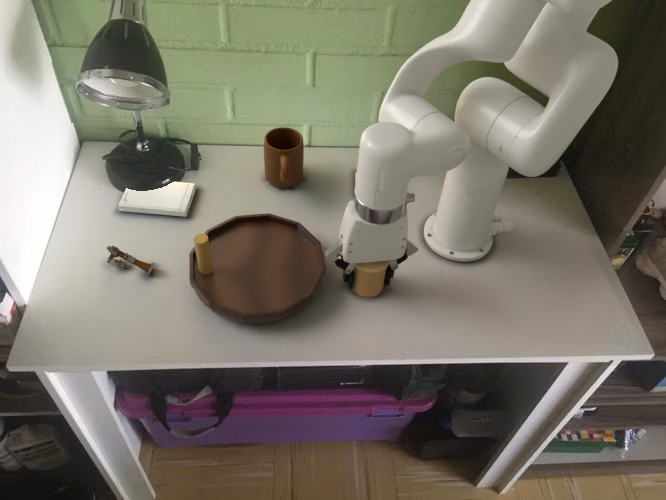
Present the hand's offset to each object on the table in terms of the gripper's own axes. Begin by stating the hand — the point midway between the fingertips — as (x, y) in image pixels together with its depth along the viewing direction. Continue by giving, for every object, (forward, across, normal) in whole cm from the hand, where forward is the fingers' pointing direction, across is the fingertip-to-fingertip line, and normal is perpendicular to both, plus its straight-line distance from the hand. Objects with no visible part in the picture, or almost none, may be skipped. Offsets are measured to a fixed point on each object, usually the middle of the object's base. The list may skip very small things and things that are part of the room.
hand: (367, 280), depth 101 cm
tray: (-1, +18, -4) cm, 18 cm away
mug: (+1, +11, -27) cm, 29 cm away
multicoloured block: (+1, -7, -25) cm, 26 cm away
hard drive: (+1, +35, -25) cm, 43 cm away
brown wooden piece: (+1, +39, -8) cm, 40 cm away
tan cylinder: (+1, 0, 0) cm, 1 cm away
